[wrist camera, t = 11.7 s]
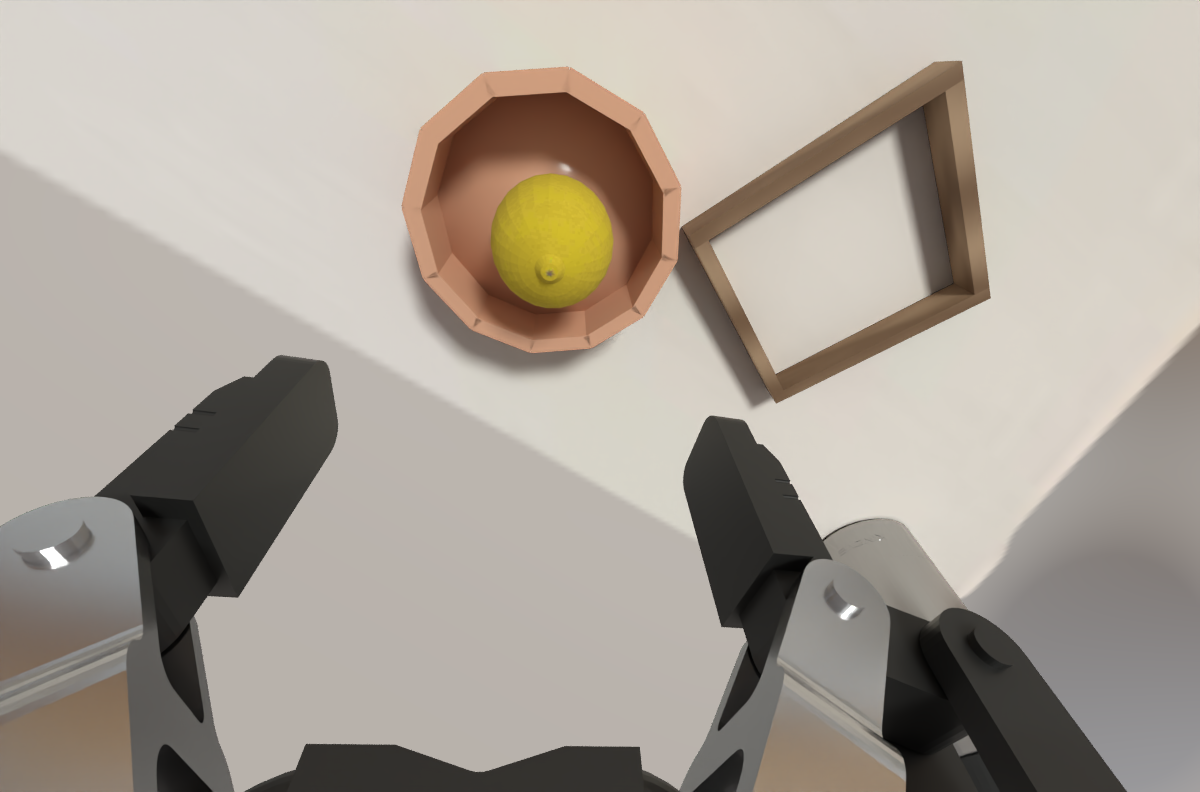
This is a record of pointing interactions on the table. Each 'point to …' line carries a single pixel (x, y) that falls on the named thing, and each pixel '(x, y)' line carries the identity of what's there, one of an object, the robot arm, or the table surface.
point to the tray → (948, 143)
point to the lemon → (551, 240)
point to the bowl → (522, 150)
